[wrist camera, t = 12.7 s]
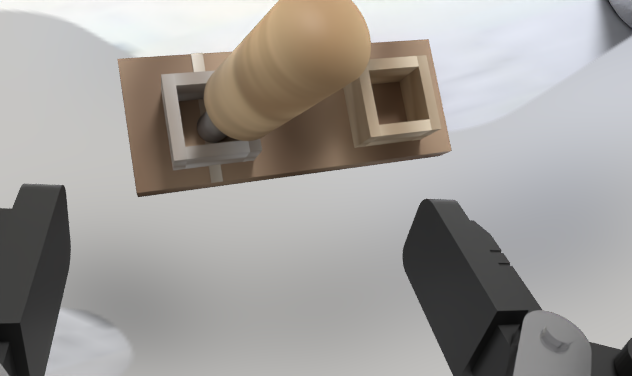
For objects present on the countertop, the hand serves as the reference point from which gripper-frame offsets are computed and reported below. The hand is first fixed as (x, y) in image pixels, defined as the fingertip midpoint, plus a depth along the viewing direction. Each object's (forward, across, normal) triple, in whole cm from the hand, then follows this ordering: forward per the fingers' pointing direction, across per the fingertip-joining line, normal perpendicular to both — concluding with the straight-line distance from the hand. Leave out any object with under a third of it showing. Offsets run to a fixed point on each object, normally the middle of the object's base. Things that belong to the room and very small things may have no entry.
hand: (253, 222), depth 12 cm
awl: (+15, 0, +6) cm, 17 cm away
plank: (+18, -5, +6) cm, 19 cm away
